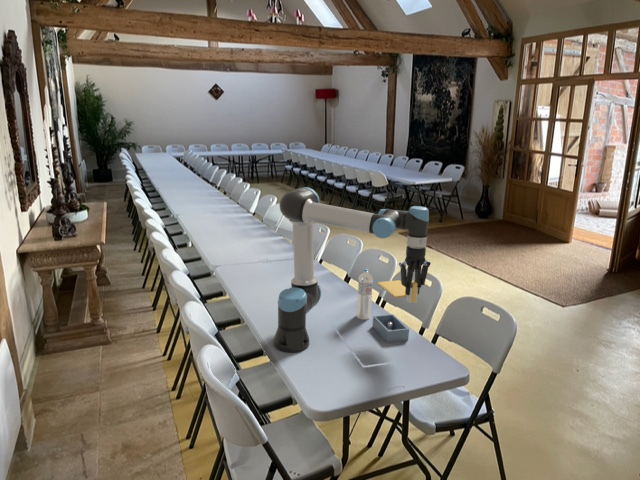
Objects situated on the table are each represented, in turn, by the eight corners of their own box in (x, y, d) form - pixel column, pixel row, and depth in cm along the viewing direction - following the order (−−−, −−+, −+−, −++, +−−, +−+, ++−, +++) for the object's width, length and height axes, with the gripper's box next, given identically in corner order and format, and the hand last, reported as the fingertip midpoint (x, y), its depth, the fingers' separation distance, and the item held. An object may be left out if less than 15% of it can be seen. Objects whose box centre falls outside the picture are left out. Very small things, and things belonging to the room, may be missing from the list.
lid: (401, 303, 188) (403, 284, 186) (377, 283, 209) (378, 266, 207) (425, 300, 191) (427, 282, 189) (399, 281, 212) (400, 264, 210)
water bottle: (359, 321, 224) (362, 272, 218) (354, 315, 231) (357, 267, 224) (372, 320, 226) (375, 271, 220) (367, 314, 233) (370, 266, 226)
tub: (387, 344, 204) (388, 331, 202) (372, 328, 218) (373, 316, 217) (408, 341, 207) (409, 329, 205) (391, 325, 221) (392, 314, 220)
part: (390, 330, 215) (390, 324, 214) (385, 328, 217) (385, 322, 216) (394, 328, 216) (394, 322, 215) (389, 326, 218) (390, 320, 217)
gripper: (404, 249, 180) (399, 307, 186) (438, 247, 184) (432, 303, 191) (394, 244, 187) (390, 300, 193) (427, 242, 191) (422, 296, 197)
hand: (411, 301), depth 192 cm, fingers closed on lid, 2 cm apart
